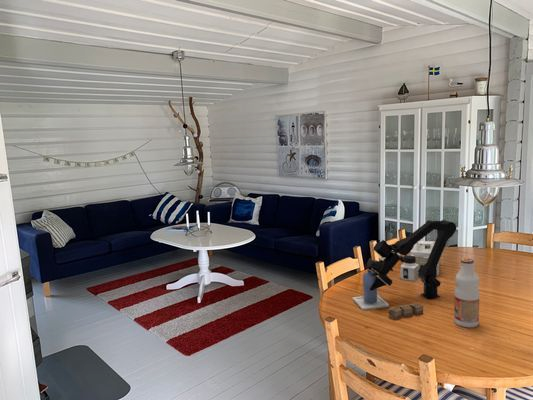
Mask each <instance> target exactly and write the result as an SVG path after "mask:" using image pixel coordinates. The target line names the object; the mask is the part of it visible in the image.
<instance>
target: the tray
mask: <svg viewBox="0 0 533 400" xmlns="http://www.w3.org/2000/svg"><path fill="white" fill-rule="evenodd" d="M352 301H353V302H354V303H355V305H357V307H359V308H360V309H361V310H362V311H369V310H377V309H386V308H390V304H389V303H388V302H387V301H386V300H384V299H383V298H382V297H381V296H380V295H379V294H377V302H375V303H367V302H365V301H364V295H363V296H361V295H360V296H355V297H353V296H352Z"/></svg>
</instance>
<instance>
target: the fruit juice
mask: <svg viewBox="0 0 533 400" xmlns="http://www.w3.org/2000/svg"><path fill="white" fill-rule="evenodd" d="M460 264H461V265H460V269H459V271H458V272H457V273H456V275H455V277H454V282H455V288H454V302H453V303H454V306H453V307H454V309H453V311H454V313H453V315H454V317H453V318H454V319H453V320H454V323H455V324H457V325H458V326H460V327H462V328H463V327H464V328H469V329H470V328H476V327H478V325H479V323H480V290H479V284H480V278H479V275H478V274H477V273H476V271H475V269H474V264H475V260H474V258H469V257H462V258H461V259H460Z"/></svg>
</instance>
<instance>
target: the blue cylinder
mask: <svg viewBox="0 0 533 400" xmlns="http://www.w3.org/2000/svg"><path fill="white" fill-rule="evenodd" d="M376 276H377V277H378V275H377V274H375V273H371V272H368V271H367V272H364V273H363V274H362V285H363V286H362V287H363V290H362V291H363V296H364V301H365V302H367V303H375V302H377V295H378V288H377V289H374V290H372V291H371V290H370V287H371V286H372V285H373V283H374V282H375V280H376Z"/></svg>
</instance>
